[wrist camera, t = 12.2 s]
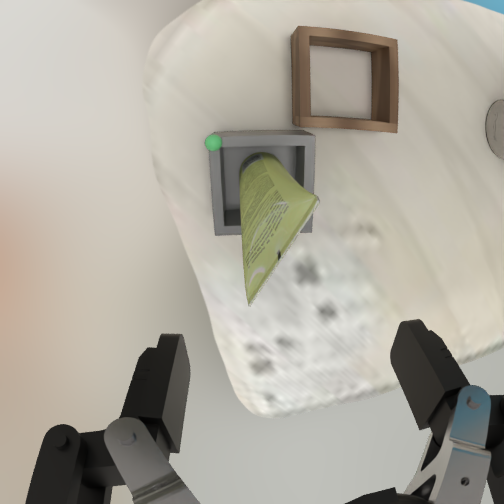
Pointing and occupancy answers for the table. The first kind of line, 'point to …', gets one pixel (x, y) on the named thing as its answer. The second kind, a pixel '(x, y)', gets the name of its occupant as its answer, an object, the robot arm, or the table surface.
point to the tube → (269, 217)
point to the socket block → (232, 156)
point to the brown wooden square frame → (382, 78)
